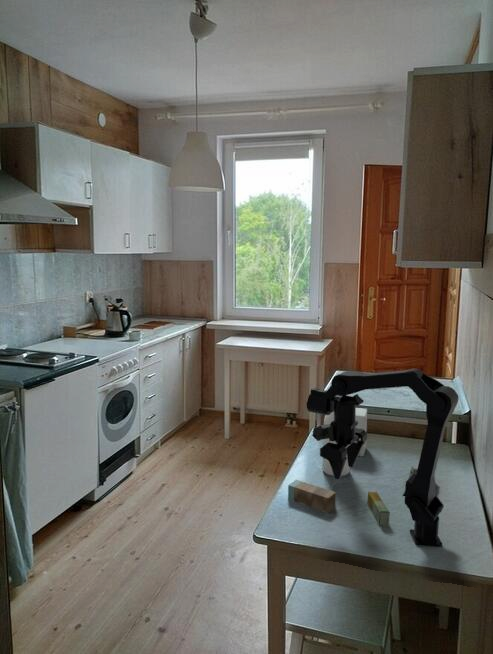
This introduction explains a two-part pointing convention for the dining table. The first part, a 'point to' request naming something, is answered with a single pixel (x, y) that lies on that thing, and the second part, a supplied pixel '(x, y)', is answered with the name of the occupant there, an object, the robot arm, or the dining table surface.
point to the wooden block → (312, 496)
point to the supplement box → (361, 424)
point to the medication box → (378, 509)
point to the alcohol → (326, 464)
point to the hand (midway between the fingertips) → (343, 472)
